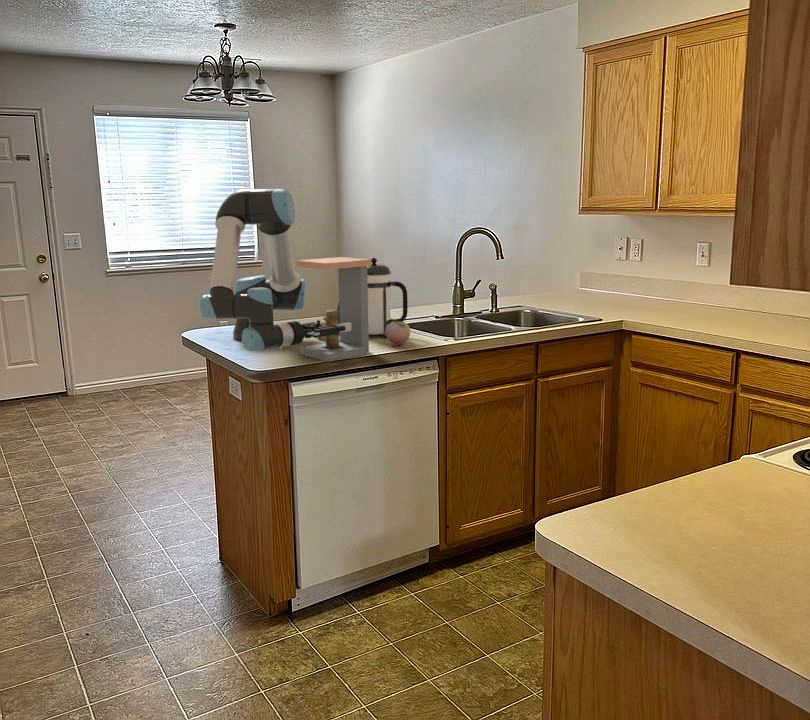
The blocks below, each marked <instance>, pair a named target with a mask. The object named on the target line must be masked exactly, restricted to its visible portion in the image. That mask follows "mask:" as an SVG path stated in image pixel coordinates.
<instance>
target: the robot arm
mask: <svg viewBox="0 0 810 720" xmlns="http://www.w3.org/2000/svg"><path fill="white" fill-rule="evenodd" d="M295 211H296V210H295V204H294V200H293V197H292V194H291V193H290V191H288V189H284V188H282V189H280V188H272V189H271V188H269V189H268V188H263V189H262V188H261V189H260V188H258V189H257V188H254V189H253V188H251V189H248V188H243V189H239V190H236V191H234V192H233V193H231V194H230V195H229V196H227V197H226V199H225V200H224V201H223V202H222V203H221V205H220V206H219V208H218V210H217V213H216V216H215V221H214V225H215V228H216V229H217V232H216V240H215V248H214V256H213V262H212V269H211V270H212V271H211V278H210V285H209V293H207V294H203V295H201V296H200V297H201V298H199V299H200V300H199V311H200V315H201V316H202V318H204V319H206V320H207V319H209V320H225V319H227V320H228V319H231V320H232V319H235V320H236V321H235V323H234V329H233V332H232V334H233V335H232V337H233V339H234V340H237V341H241V342H242V345H243V347H244V349H246V350H247V351H249V352H257V351H258V352H259V351H261V352H262V351H265V350H270V349H275V348H276V349H277V348H279V349H283V348H284V347H288V346H295V345H300V344H302V343H303V342H304V339H310V338H314V339H318V337H322V336H330V335H336V336H337V335H338V334H339V335H340V332H346V331H352V330H351V323H344V324H337V325H335V326H326V322H325V321H321V320H319V319H318V320H316V322H315V321H311V322H307V323H302V324H301V323H300V322H299V321H296V320H293V321H287V322H280V323H279V322H278V323H274V311H295V310H302V309H303V308H304V306H305V298H306V286H307V285H306V282H307V281H306V279H304V278H301V276H300V274H299V273H298V272H297V271H296V269H295V263H294V256H293V251H292V245H291V243H292V242H291V237H290V232H289V230H290V229H291V227H292V224H294V223H295V220H296V212H295ZM247 225H249V226H250V225H251V226H253V225H257V229H258V231H259V232H260V233H262V234H263V237H264V241H265V246H266V247H265V248H266V251H267V257H268V261H269V266H270V271H271V276H269V277H270V278H268V279H267V276H266V275H255V276H254V275H253V276H248V277H241V278H239V279H237V272H238V271H237V269H238V261H239V254H240V246H241V245H240V244H241V235H242V233H243V232H244V231H245V229H246V228H245V227H246V226H247ZM236 279H237V280H236Z"/></svg>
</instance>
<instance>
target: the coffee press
mask: <svg viewBox="0 0 810 720" xmlns="http://www.w3.org/2000/svg"><path fill="white" fill-rule="evenodd" d="M370 260H371V266H367V281H368V335H375V336H376V335H381V336H382V337H383V339H388V338H387V336H386V333H385V329H386V327H387V325H388V324H390V322H391V321H397V318H392V317H391V286H392V287H398V288H400V290H401V292H402V315H401V317H399V318H398V321H399V322H405V320H406V319H407V316H408V304H409V303H408V302H409V301H408V291H407V287H406V286H405V285H404V284H403V283H402V282H400V281H391V274H392V270H390V267H389V266H387V265H385V264H378V263H377V262H378V260H377V258H376V257H372V258H371V259H370Z"/></svg>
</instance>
